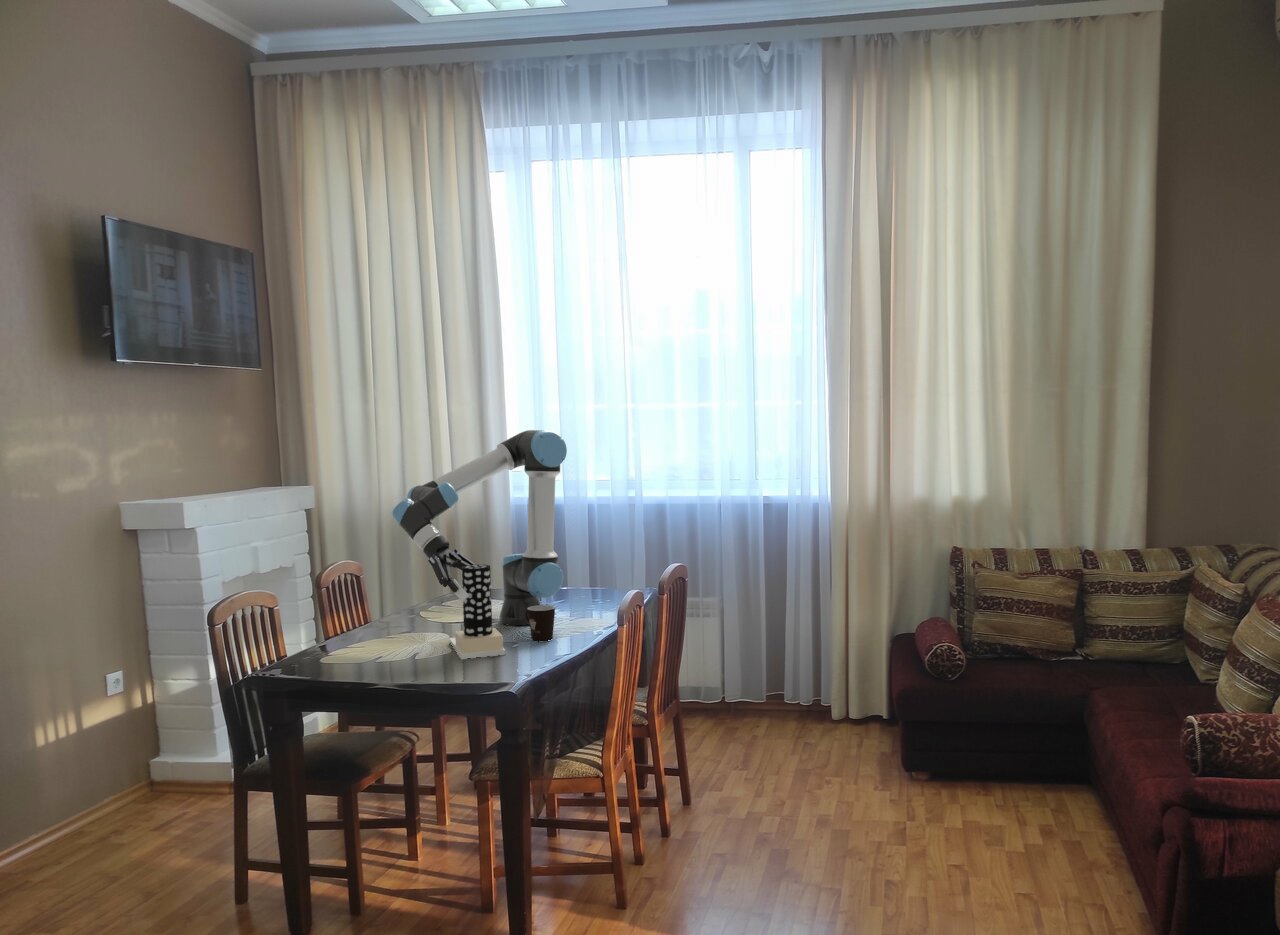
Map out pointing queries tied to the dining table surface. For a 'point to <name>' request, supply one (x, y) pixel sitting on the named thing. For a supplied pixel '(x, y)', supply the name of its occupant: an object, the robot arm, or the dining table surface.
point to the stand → (478, 645)
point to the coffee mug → (541, 622)
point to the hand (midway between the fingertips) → (477, 594)
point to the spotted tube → (477, 600)
